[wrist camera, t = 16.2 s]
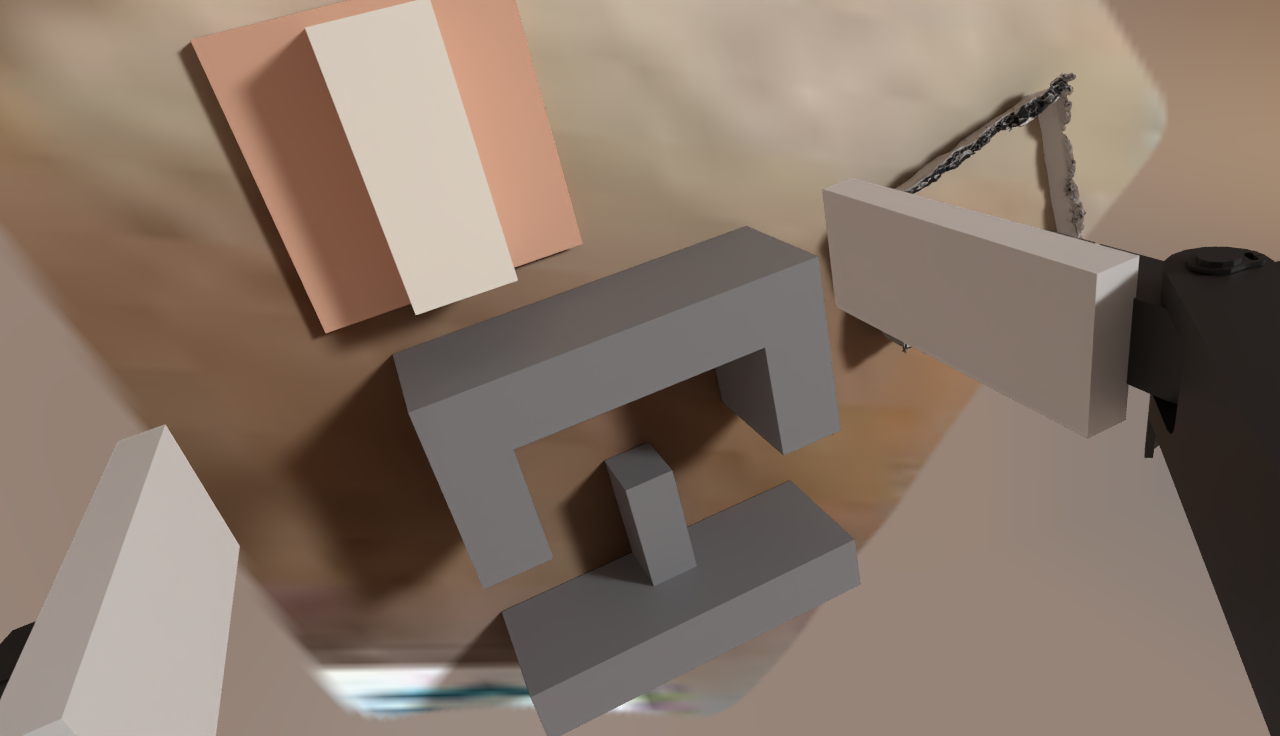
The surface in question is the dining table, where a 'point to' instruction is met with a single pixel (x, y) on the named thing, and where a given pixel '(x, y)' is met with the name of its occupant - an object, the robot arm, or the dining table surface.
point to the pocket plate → (640, 463)
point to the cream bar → (415, 151)
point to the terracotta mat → (328, 172)
